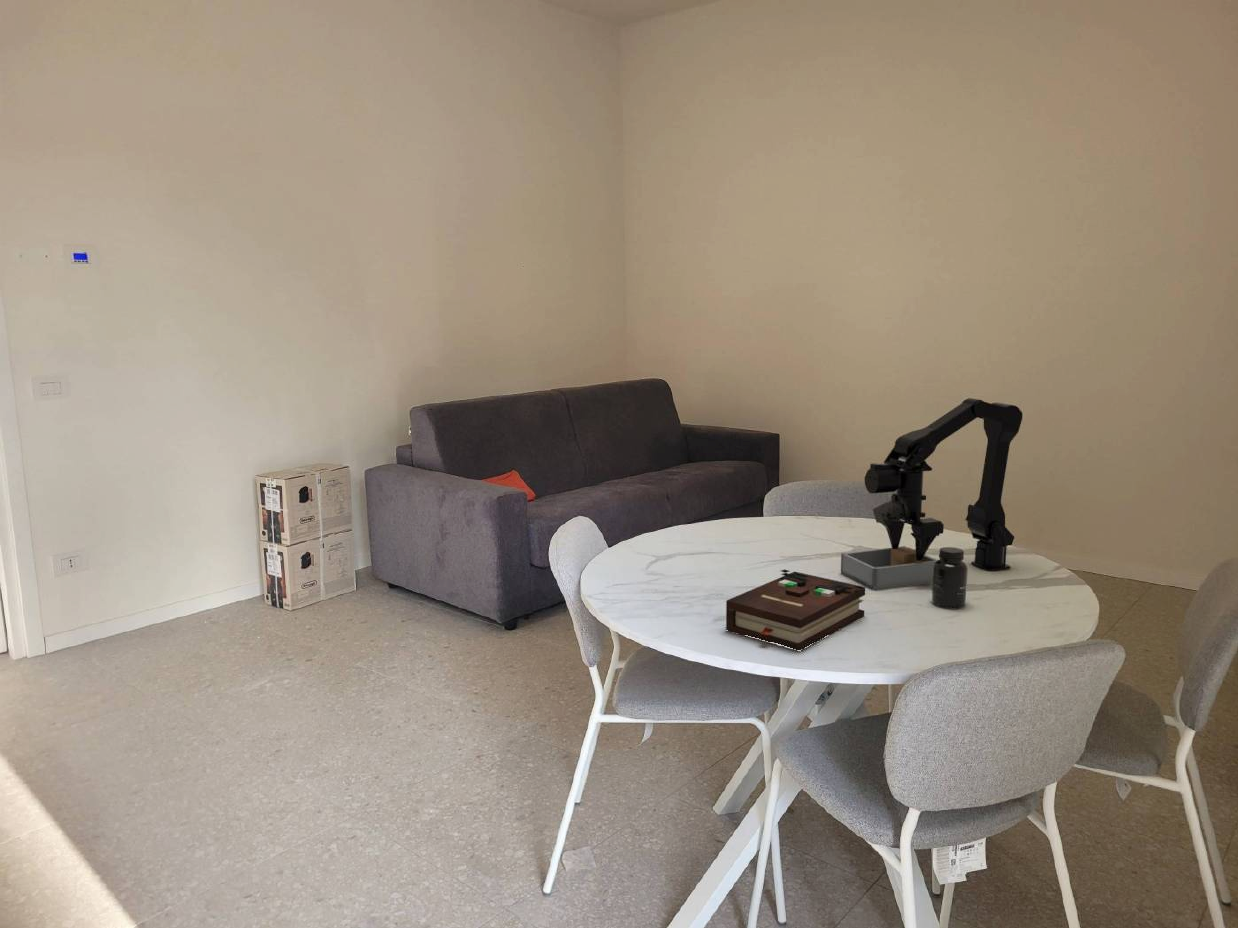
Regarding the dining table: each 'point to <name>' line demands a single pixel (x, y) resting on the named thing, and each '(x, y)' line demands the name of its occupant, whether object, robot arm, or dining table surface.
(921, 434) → the robot arm
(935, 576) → the supplement bottle
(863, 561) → the tote
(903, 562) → the walnut cube
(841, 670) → the dining table surface
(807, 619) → the decorative book
